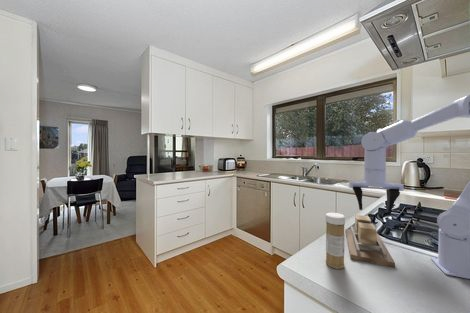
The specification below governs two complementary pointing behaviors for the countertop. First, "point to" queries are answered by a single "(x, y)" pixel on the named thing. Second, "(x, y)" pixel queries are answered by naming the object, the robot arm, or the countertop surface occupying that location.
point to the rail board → (367, 246)
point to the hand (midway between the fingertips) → (374, 210)
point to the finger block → (366, 233)
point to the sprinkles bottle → (335, 240)
